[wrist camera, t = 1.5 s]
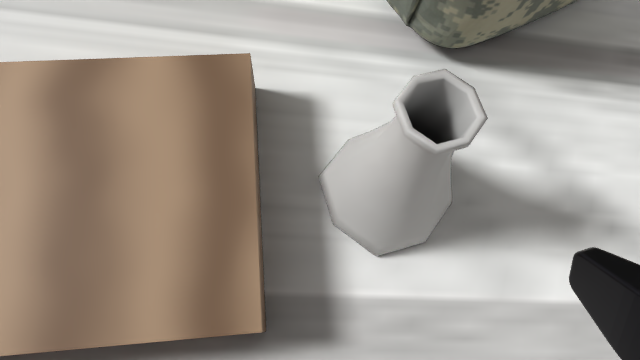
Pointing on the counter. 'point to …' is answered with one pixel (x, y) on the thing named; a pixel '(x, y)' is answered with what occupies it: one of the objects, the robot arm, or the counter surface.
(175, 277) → the board
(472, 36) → the lunch bag
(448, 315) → the counter surface
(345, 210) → the flask
